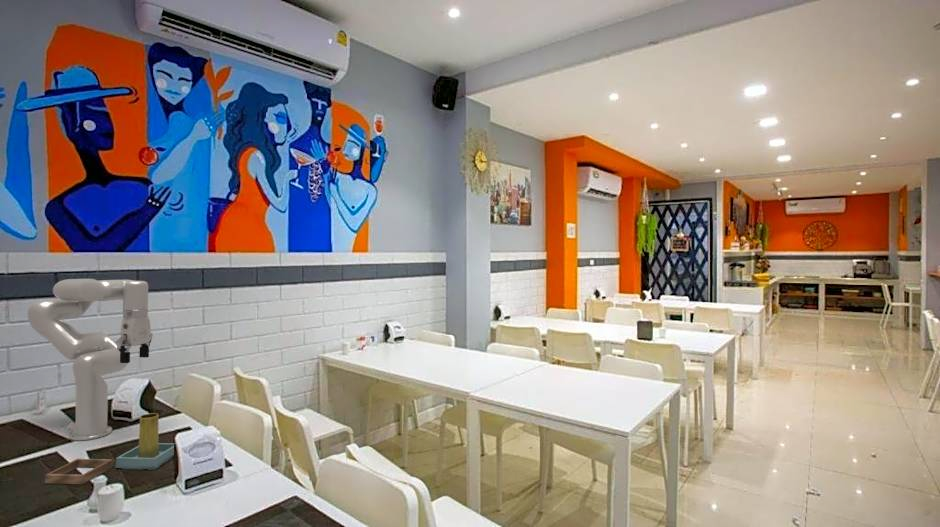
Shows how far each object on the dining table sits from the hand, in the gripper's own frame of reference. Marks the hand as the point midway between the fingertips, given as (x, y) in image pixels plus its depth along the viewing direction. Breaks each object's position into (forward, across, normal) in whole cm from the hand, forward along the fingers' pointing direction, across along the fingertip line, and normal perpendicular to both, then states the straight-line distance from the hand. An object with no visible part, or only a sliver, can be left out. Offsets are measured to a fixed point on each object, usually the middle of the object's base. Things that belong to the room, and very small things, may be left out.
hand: (134, 359), depth 173 cm
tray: (+30, -16, -17) cm, 38 cm away
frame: (+30, -27, -3) cm, 41 cm away
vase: (+30, -16, -17) cm, 38 cm away
